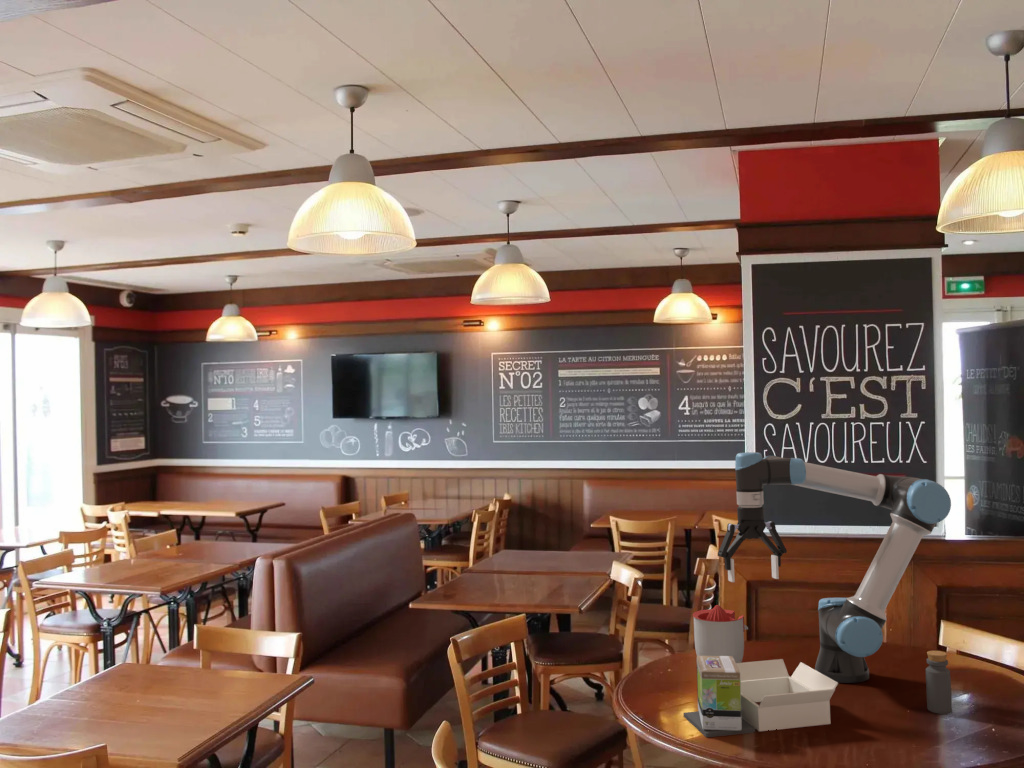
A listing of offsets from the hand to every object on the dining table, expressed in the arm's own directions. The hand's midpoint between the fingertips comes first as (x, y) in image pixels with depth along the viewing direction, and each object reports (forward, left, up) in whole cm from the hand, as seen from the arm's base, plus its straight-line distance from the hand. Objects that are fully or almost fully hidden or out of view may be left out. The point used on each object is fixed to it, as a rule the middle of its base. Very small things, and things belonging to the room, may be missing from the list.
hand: (753, 579), depth 244 cm
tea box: (+21, +21, -31) cm, 43 cm away
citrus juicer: (+1, -22, -32) cm, 39 cm away
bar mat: (+22, +21, -32) cm, 44 cm away
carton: (+2, +18, -32) cm, 37 cm away
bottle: (-38, +27, -32) cm, 56 cm away
